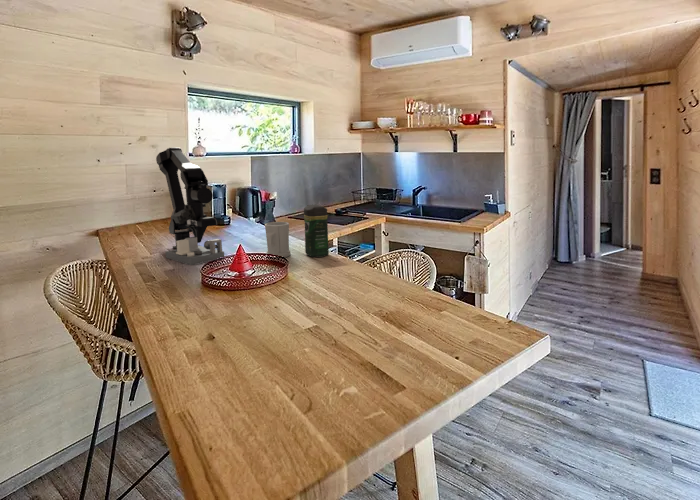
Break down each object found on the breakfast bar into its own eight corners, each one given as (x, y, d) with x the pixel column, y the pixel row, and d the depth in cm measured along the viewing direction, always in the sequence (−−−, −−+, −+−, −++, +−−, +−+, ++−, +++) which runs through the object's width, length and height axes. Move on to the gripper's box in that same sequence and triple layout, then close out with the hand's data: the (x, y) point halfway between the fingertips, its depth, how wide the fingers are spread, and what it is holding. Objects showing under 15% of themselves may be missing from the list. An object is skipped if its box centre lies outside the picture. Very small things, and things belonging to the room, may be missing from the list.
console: (165, 257, 174) (163, 239, 172) (198, 251, 183) (197, 233, 182) (190, 265, 162) (188, 245, 160) (224, 257, 172) (223, 239, 170)
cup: (293, 258, 169) (291, 225, 166) (268, 260, 166) (266, 227, 164) (288, 252, 179) (287, 221, 176) (264, 254, 176) (262, 222, 173)
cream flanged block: (175, 253, 168) (174, 240, 167) (185, 251, 171) (184, 238, 170) (181, 255, 165) (180, 241, 164) (191, 253, 168) (190, 240, 167)
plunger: (204, 249, 172) (203, 241, 172) (211, 248, 175) (210, 239, 174) (212, 251, 169) (211, 243, 168) (220, 250, 171) (219, 241, 170)
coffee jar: (331, 256, 170) (330, 205, 166) (311, 258, 167) (308, 207, 163) (322, 251, 179) (321, 202, 175) (303, 253, 176) (300, 204, 172)
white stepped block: (184, 250, 173) (183, 237, 172) (194, 248, 175) (193, 236, 174) (190, 252, 170) (189, 239, 169) (199, 250, 173) (198, 237, 172)
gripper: (162, 202, 174) (166, 243, 178) (187, 205, 162) (191, 249, 165) (189, 199, 182) (193, 238, 186) (215, 202, 170) (219, 244, 173)
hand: (198, 242), depth 177 cm, fingers closed
